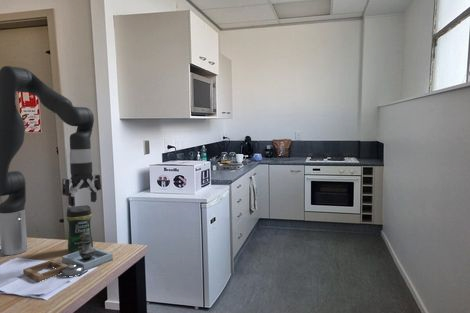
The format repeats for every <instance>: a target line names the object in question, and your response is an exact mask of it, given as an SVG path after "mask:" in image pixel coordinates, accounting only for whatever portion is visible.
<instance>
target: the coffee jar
mask: <svg viewBox="0 0 470 313" xmlns="http://www.w3.org/2000/svg"><path fill="white" fill-rule="evenodd" d="M91 208H92V207H91V206H90V205H88V204H83V205H78V206H76V205H75V206H74V207H71V206H69V207H67V209H66V220H67V223H68V235H67V236H68V237H67V250H68V252H69V253H74V252H77V251H80V250H82V247H83V245H82V242H81V241H83V239H82V233H83V232H85V230H86V229H87V231H89V232H90V236H91V240H92V241H91V247H92V248H94V240H93V234H92V227H91V219H92V216H93V214H92V209H91Z"/></svg>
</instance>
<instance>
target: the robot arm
mask: <svg viewBox="0 0 470 313" xmlns="http://www.w3.org/2000/svg"><path fill="white" fill-rule="evenodd" d="M17 92H19V93H23V92H24V93H29V94H32V95H34V96H35V97H37V98H38V100H39V101H40V102H39V103H41V104H42V106H44V107H45V108H46V109H48V110H49V111H51V112H52V113H54V114H56V115H57V116H58V118H60V119H61V121H62V122H63V123H65V124H66V125H68V126H70V127H77V128H76V130H75V132H74V133H73V132H72V134H71V133H70V135H69V168H70V169H69V171H70V176H71V177H70V178H63V179H62V180H61V181H62V184H61V185H62V187H61V188H62V189H61V194H62V195H63V196H66V197H67V198H68V199H67V200H68V205H69V207H75V206H76V198H75V194H76V193H77V192H78V191H79V190H82V189H88V190H89V191H90V202H92V203H96V202H97V193H98V191H101V190H102V184H101V183H102V182H101V175H100V174H95V173H94V174H93V154H92V148H91V146H92V144H91V137H92V132H93V127H94V122H95V115H94V113H93V112H92V111H93V110H92V109H90V108H88V107H86V106H85V107H84V106H83V107H82V106H80V107H79V106H74V105H73V103H72V101H71V100H70V99H69V98H67V97H66V96H64V95H62V94H61V93H59V92H57V91H55V90H54V89H52V88H50V86H48V85H47V84H46V83H45V82H43V81H42V80H41V79H40V78H39V77H38V76H37V75H35V73H33V72H32V71H30V70H29V69H27V68H25V67H24V68H23V67H18V66H10V65H5V66H3V67H1V68H0V197H4V196H8V197H7V198H6V199H5V200H4V201H2V202H0V255H3V256H13V255H14V256H15V255H19V254H21V253H24V252H25V251H28V236H27V224H26V221H27V220H26V211H25V210H26V207H25V205H26V201H27V199H26V198H27V196H26V195H27V193H26V189H27V186H26V184H27V183H26V179H25V176H24V174H23V173H22V172H21V171H19V170H15V171H14V170H12V171H9V169H10V165H11V162H12V161H13V159H14V157H15V156H16V155H17V153H18V152H19V150H20V149H21V147H22V146H23V143H24V142H25V141H24V140H25V133H26V132H25V131H26V127H25V121H24V120H23V118H22V116H21V114H20V112H19V110H18V108H17V103H16V95H17Z"/></svg>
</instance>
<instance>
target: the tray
mask: <svg viewBox="0 0 470 313" xmlns="http://www.w3.org/2000/svg"><path fill="white" fill-rule="evenodd" d="M93 248H94V249H95V253H94V255H93V256H92V257H94V258H95V259H94V260H91V261H88V262H86V263H84V262H81V261H80V260H81V259H82V257H81V256H80V253H79V251H77V252H74V253H72V252H70V253H69V254H65V255H63V256H61V263H64V264H66V265H71V264H79V265H82V266H84V272H86V271H89V270H91V269H93V268H96V267H98V266H101V265H104V264H106V263H109V262H112V261H113V259H114V257H113V256H114V254H113V253H111V252H108V251H105V250H102V249H99V248H96V247H93ZM85 270H86V271H85Z"/></svg>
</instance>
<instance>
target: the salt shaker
mask: <svg viewBox="0 0 470 313" xmlns="http://www.w3.org/2000/svg"><path fill="white" fill-rule="evenodd" d="M82 239H83V241H81V242H82V245H83V247H82V250H80V251H79V253H80V256H81V257H82V259H81V260H80V261H81V262H84V263H86V262H88V261H91V260H94V259H95V258H94V257H92V256H93V255H94V253H95V249H94V248H95V247H93V248H92V247H91V241H92V240H93V239H92V240H91V236H90V232H89V231H87V229H86V230H85V232H83V233H82Z"/></svg>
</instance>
